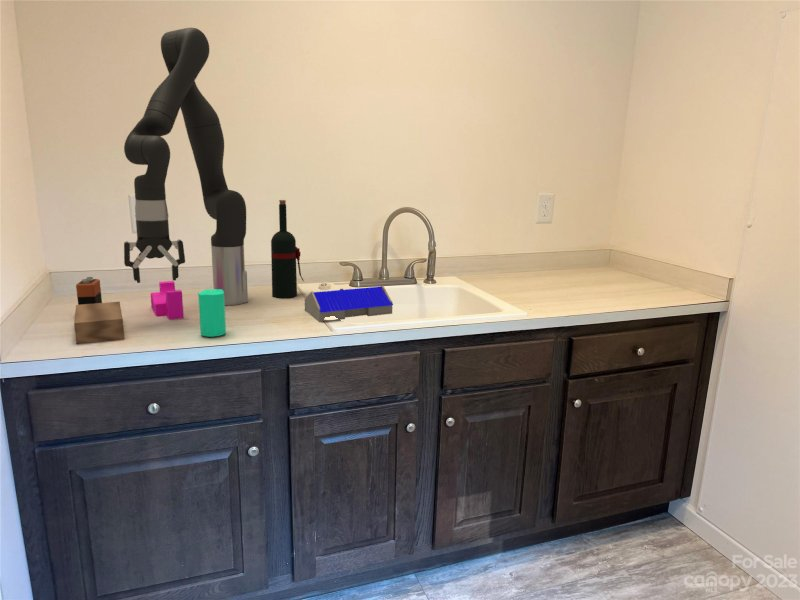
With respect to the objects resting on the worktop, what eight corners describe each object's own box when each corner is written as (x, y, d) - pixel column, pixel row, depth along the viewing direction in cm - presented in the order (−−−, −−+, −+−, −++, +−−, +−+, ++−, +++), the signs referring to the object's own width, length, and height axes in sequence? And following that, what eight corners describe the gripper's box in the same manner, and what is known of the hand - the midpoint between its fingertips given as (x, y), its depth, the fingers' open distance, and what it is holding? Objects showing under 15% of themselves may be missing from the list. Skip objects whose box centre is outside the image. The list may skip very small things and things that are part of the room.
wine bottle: (307, 297, 182) (306, 201, 175) (275, 300, 178) (272, 201, 171) (300, 292, 189) (299, 199, 182) (269, 294, 185) (266, 199, 178)
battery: (78, 317, 154) (74, 281, 152) (86, 311, 160) (82, 275, 158) (96, 317, 155) (93, 280, 153) (103, 310, 161) (99, 275, 159)
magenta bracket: (151, 308, 166) (149, 282, 164) (174, 305, 169) (172, 280, 167) (158, 321, 154) (156, 293, 152) (183, 318, 157) (182, 291, 155)
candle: (216, 328, 148) (214, 282, 145) (230, 332, 145) (228, 285, 142) (195, 333, 144) (192, 285, 141) (209, 338, 140) (207, 289, 137)
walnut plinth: (121, 319, 153) (119, 301, 152) (124, 339, 138) (122, 318, 136) (78, 323, 149) (76, 304, 147) (76, 344, 133) (74, 323, 132)
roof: (373, 304, 178) (373, 280, 176) (393, 315, 166) (393, 290, 164) (303, 311, 168) (303, 286, 166) (320, 323, 156) (319, 297, 154)
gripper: (180, 216, 152) (183, 276, 156) (120, 217, 146) (125, 280, 149) (184, 218, 145) (187, 282, 149) (121, 220, 139) (126, 286, 143)
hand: (156, 281), depth 149 cm, fingers open, 8 cm apart
